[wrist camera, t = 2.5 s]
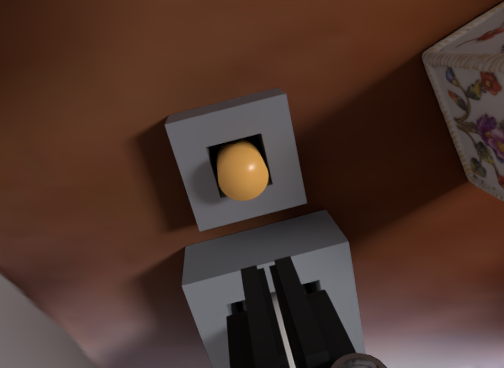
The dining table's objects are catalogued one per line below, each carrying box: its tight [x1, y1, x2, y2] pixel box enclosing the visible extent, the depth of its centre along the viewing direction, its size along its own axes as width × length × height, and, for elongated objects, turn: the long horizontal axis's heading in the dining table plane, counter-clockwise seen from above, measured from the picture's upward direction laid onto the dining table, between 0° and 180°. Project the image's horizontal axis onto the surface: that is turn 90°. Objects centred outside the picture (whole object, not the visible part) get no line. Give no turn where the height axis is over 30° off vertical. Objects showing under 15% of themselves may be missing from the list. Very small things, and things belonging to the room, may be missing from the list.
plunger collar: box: [165, 88, 307, 231], centre depth 25 cm, size 8×8×3 cm
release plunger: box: [216, 139, 268, 201], centre depth 23 cm, size 3×3×4 cm
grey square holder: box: [182, 210, 365, 368], centre depth 29 cm, size 11×11×5 cm
